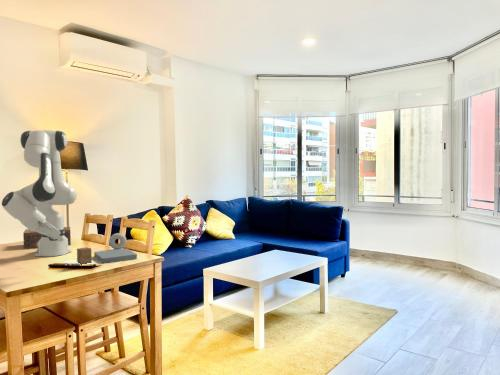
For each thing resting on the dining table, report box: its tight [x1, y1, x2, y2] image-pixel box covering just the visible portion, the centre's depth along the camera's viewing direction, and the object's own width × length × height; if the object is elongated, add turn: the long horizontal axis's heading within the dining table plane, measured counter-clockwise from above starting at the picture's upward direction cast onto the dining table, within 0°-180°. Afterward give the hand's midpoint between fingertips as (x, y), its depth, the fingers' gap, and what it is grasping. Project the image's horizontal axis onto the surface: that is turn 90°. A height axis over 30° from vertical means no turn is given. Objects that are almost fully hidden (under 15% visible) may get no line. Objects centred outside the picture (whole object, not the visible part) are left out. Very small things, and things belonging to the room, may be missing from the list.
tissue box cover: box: [22, 226, 72, 250], centre depth 245 cm, size 26×14×10 cm, turn 115°
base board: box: [93, 247, 138, 264], centre depth 213 cm, size 18×18×2 cm
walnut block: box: [76, 246, 92, 265], centre depth 194 cm, size 5×5×9 cm
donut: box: [108, 232, 127, 250], centre depth 233 cm, size 10×3×10 cm, turn 108°
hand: (57, 239), depth 184 cm, fingers open, 8 cm apart
